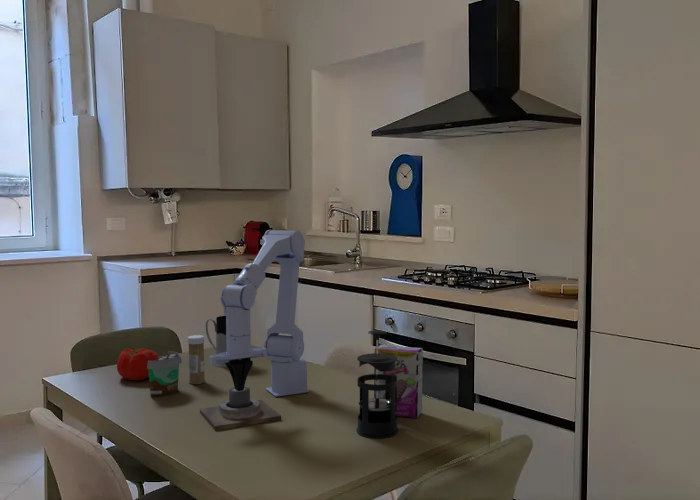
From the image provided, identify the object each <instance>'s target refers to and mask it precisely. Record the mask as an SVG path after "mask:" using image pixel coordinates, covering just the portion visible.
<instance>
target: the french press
mask: <svg viewBox="0 0 700 500" xmlns="http://www.w3.org/2000/svg"><path fill="white" fill-rule="evenodd" d="M367 334H368V335H372V336H373V335H374V339H375V341H376V347H377V353H375V352H373V353H366V354H365V353H364V354H361V355H358V356H357V361H358V362H359V364H358V365H359V368H361V367H362V366H363V365H370V366H371V367H373V369H374V368H376V374H374V373H372V374H371V373H370V374H364V375H360V376H359V377H358V378H357V387H358V388H359V402H358V405H359V414H358V415H357V427H356V433H357V434H358V435H359V436H362V437H364V438H369V439H387V438H391V437H394V436H396V435H397V434H398V433H399V428H398V416H396V415H395V413H396V412H397V376H396V375H393V374H389V375H385V374H378V370H379V371H382V372H385V371H391V370H393V369H395V362H396V361H397V357H396V356H393V355H390V354H381V353H378V346H379V341H380V336H381V335H386V334H387V331H385V330H383V329H381V330H380V329H373V330H369V331H368V332H367ZM373 380H376V385H374V383H373V384H371V383H366V381H373ZM378 380H385V384H382V385H378ZM383 390H385V398H378V391H383ZM369 391H376V398H374V397H370V394H369Z"/></svg>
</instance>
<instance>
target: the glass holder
mask: <svg viewBox="0 0 700 500" xmlns="http://www.w3.org/2000/svg"><path fill="white" fill-rule="evenodd" d="M210 321H212V323H213V326H214V332H215V340H216V341H215V344H214V343H213V341H212V339H211V337H210V334H209V330H208V329H209V328H208V327H209V326H208V325H209V324H208V323H209V322H210ZM205 332H206V333H205V334H206V337H207V339H208V342H209V343H210V345H211V346H212V348H214V350H215V351H216V353H215V355H216V354H220V353H224V352H227V336H226V315H220V316H217V317H216V319H214V318H209V319H207V320H206V322H205ZM214 366H215V367H217V368H218V367H219V368H227V366H226V364H225V363H220V364H217V365H214Z"/></svg>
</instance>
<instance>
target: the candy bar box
mask: <svg viewBox="0 0 700 500" xmlns="http://www.w3.org/2000/svg"><path fill="white" fill-rule="evenodd" d="M374 353H377V346H376V347H375V348H374ZM378 353H381V354H390V355H393V356H396V357H397V361H396V362H395V369H393V370H391V371H385V372H382V371H379V370H378V374H385V375H389V374H393V375H396V376H397V412H396V413H395V415H396V416H397V417H401V418H409V419H411V418H412V419H418V418H419V417H420V416H421V414H422V413H423V362H424V361H423V359H424V358H423V357H424V355H423V354H424V349H423V347H412V346H402V345H401V346H400V345H390V344H378ZM373 369H374V372H373V374H376V368H374V367H373ZM373 382H374V383H373V385H376V380H374V381H373ZM382 384H385V380H378V385H382ZM373 398H376V391H374V392H373ZM378 398H385V390H383V391H378Z"/></svg>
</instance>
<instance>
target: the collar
mask: <svg viewBox="0 0 700 500" xmlns="http://www.w3.org/2000/svg"><path fill="white" fill-rule="evenodd" d="M199 414H200V415H201V416H202V417H203V418H204V419H205V421H206V422H207V423H208V424H209V425H210V426H211V427H212V428H213V430H214V431H220V430H227V429H233V428H238V427H240V428H241V427H246V426H253V425H258V424H265V423H269V422H276V421H281V420H282V415H281V414H280V413H279V412H278V411H276V410H275V409H274V408H272V407H271V406H270V405H269V404H268V403H266V402H265V401H264V400H263V399H259V400H257V399H254V398H250V406H249V407H246V408H230V407H229V399H227V400H223V401H221V402H220V403H219V405H216V406H210V407H202V408H199Z"/></svg>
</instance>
